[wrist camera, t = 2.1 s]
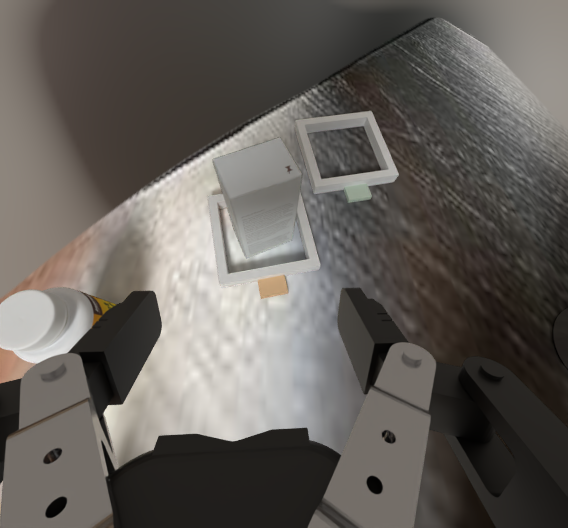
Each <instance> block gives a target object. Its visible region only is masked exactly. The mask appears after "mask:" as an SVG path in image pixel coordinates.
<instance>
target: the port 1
mask: <svg viewBox="0 0 568 528" xmlns="http://www.w3.org/2000/svg"><path fill="white" fill-rule="evenodd" d="M207 198H208V205H209V213H210V220H211V227H212V235H213V242H214V250H215V257H216V264H217V272H218V279H219V285H220V286H221V288H226V287H231V286H236V285H242V284H247V283H252V282H257V281H258V285H259V291H260V296H261V299H262V298H267V297H273V296H278V295H283V294H288V289H287V284H286V280H285V276H289V275H294V274H300V273H305V272H310V271H316V270H318V269H319V268H320V266H321V265H320V262H319V258H318V254H317V251H316V247H315V243H314V240H313V236H312V232H311V229H310V225H309V221H308V218H307V214H306V210H305V207H304V203H303V199H302V196H301V192H300V194H299V201H298V207H297V213H296V220H297V224H298V228H299V232H300V235H301V239H302V243H303V247H304V251H305V255H306V260H301V261H295V262H290V263H284V264H279V265H273V266H268V267H262V268H257V269H251V270H246V271H240V272H235V273H230V274H229V271H228V264H227V258H226V251H225V244H224V238H223V231H222V224H221V218H220V211H219V209H221V208H227V206H226V203H225V200H224V197H223V194H217V195H211V196H207Z"/></svg>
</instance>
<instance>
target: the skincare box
mask: <svg viewBox="0 0 568 528" xmlns="http://www.w3.org/2000/svg"><path fill="white" fill-rule="evenodd" d="M213 165H214V168H215V171H216V174H217V177H218V181H219V184H220V187H221V190H222V193H223V197H224V200H225V203H226V206H227V210H228V213H229V216H230V219H231V222H232V226H233V229H234V231H235V234H236V236H237V239H238V241H239V244H240V246H241V248H242V251H243V253H244V256H245V257H246V258H249V257H252V256H254V255H257V254H259V253H262V252H264V251H267V250H269V249H272V248H274V247H277V246H279V245H282V244H284V243H287V242H290V241H292V238H293V232H294V226H295V220H296V213H297V207H298V201H299V194H300V188H301V182H302V176H303V174H302V172H301V171H300V169H299V168H298V166H297V164H296V163H295V161H294V159H293V158H292V156H291V154H290V153H289V151H288V149H287V147H286V146H285V144H284V142H283V141H282V139H281V138H280V137H278V138H276V139H273V140H270V141H267V142H264V143H261V144H258V145H254V146H251V147H248V148H245V149H242V150H239V151H236V152H233V153H230V154H227V155H224V156H221V157H217V158H214V159H213Z"/></svg>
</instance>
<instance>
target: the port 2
mask: <svg viewBox="0 0 568 528" xmlns="http://www.w3.org/2000/svg"><path fill="white" fill-rule="evenodd" d="M360 126H364V129H365V131H366V134H367V136H368V139H369V141H370V143H371V146H372V148H373V151H374V153H375V156H376V158H377V161H378V163H379V166H380V168H381V171H374V172H367V173H360V174H354V175H347V176H340V177H333V178H326V179H321V176H320V173H319V170H318V167H317V163H316V160H315V157H314V154H313V151H312V147H311V144H310V141H309V138H308V134H307V133H312V132H320V131H328V130H336V129H344V128H352V127H360ZM295 132H296V135H297V139H298V142H299V146H300V149H301V153H302V156H303V159H304V163H305V166H306V170H307V173H308V177H309V180H310V183H311V187H312V190H313V194H319V193H325V192H332V191H338V190H344V193H345V196H346V199H347V202H348V203H350V202H356V201H362V200H369V199H371V197H372V196H371V193H370V191H369V188H368V186H371V185H378V184H384V183H391V182H394V181H395V179H396V178H397V176H398V175H399V174H398V172H397V169H396V167H395V165H394V162H393V160H392V158H391V155H390V153H389V151H388V148H387V146H386V144H385V141H384V139H383V137H382V134H381V132H380V130H379V127H378V125H377V123H376V120H375V118H374V116H373V113H372V111H368V112H359V113H351V114H342V115H334V116H325V117H317V118H308V119H300V120H296V121H295Z"/></svg>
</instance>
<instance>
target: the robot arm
mask: <svg viewBox="0 0 568 528" xmlns="http://www.w3.org/2000/svg"><path fill="white" fill-rule="evenodd" d="M161 328H162V322H161V317H160V312H159V308H158V303H157V298H156V295H155V293H154V291H133V292H132V293H131V294H130V295H129V296H128V297H127V298H126V299H125V300H124V302H123V303H119V304H117V305H115V306H114V307H112V308H110V309H109V310H107V311H106V312H105V313H104V314H103V315H102V316H101V317H100V319H99V321H97V322H96V323H95V324H94V325H93V326H92V329H89V330H88V331H87V332H86V334H85V335H84V336H83V337H82V338H81V339H80V340H79V341H78V342H77V343H76V344H75V345H74V346H73V347H72V348H71V350H70V351H69V352H68V353H65V354H59V355H56V356H53V357H50V358H47V359H45V360H43V361H41V362H40V363H38V364H36V365H35V366H33V367H32V368H31V369H30V370H28V371H27V372H26V373H25V375H24V376H23V378H21V379H17V380H13V381H9V382H5V383H1V384H0V484H1V482H2V481H3V489H2V502H1V514H0V515H1V516H0V528H413V527H414V520H415V514H416V508H417V501H418V495H419V489H420V483H421V476H422V470H423V464H424V457H425V451H426V445H427V438H428V432H429V430H433V431H437V432H441V433H444V435H445V437H446V439H447V440H448V442H449V444H450V446H451V448H452V449H453V451H454V453H455V455H456V457H457V458H458V460H459V462H460V464H461V466H462V467H463V469H464V471H465V473H466V475H467V476H468V478H469V480H470V482H471V484H472V486H473V487H474V489H475V491H476V493H477V495H478V496H479V498H480V500H481V502H482V504H483V505H484V507H485V509H486V511H487V513H488V514H489V516H490V518H491V520H492V522H493V523H494V525H495V527H496V528H568V428H567V427H566V426H565V425H564V424H563V423H562V422H561V421H560V420H559V419H558V418H557V417H556V416H555V415H554V414H553V413H552V412H551V411H550V410H549V409H548V408H547V407H546V406H545V405H544V404H543V403H542V402H541V401H540V400H539V399H538V398H537V397H536V396H535V395H534V394H533V393H532V392H531V391H530V390H529V389H528V388H527V387H526V386H525V385H524V384H523V383H522V382H521V381H520V380H519V379H518V378H517V377H516V376H515V375H514V374H513V373H512V372H511V371H510V370H509V369H507V368H506V367H505V366H503V365H501V364H499V363H498V362H495V361H493V360H490V359H488V358H484V357H477V356H474V357H469V358H467V359H466V360H465V361H464V363H463V366H462V367H458V366H453V365H448V364H443V363H439V362H435V360H434V358H433V356H432V355H431V354H430V353H429V352H427V351H426V350H425V349H423V348H421V347H419V346H417V345H414V344H411V343H409V342H408V341H407V340H406V338H405V337H404V335H403V334H402V333H401V331H400V330H399V328H398V327H397V326H396V324H395V323H394V321H392V319H391V317H390V316H389V315H388V314H387V312H386V310H385V309H384V308H383V306H382V305H381V304H379V303H378V302H376V301H375V300H374V299H367V297H366V296H365V294H364V293H363V291H362V290H361V288H342V290H341V295H340V303H339V311H338V329H339V332H340V335H341V337H342V340H343V343H344V345H345V348H346V350H347V353H348V355H349V358H350V360H351V363H352V365H353V368H354V371H355V373H356V376H357V378H358V381H359V383H360V386H361V388H362V391H363V393H364V394H367V397H366V399H365V401H364V404H363V406H362V408H361V411H360V413H359V415H358V418H357V420H356V422H355V425H354V427H353V429H352V432H351V434H350V436H349V439H348V441H347V443H346V446H345V448H344V450H343V453H342V455H340V454H339V453H337V452H336V451H334V450H333V449H331V448H329V447H327V446H325V445H323V444H320V443H317V442H314V441H310V440H309V436H308V429H307V428H295V429H276V430H269V431H266V432H263V433H260V434H257V435H254V436H251V437H248V438H245V439H241V440H238V441H233V442H232V441H226V440H222V439H217V438H213V437H209V436H204V435H200V434H183V435H164V436H159V437H158V440H157V442H156V445H155V448H154V450H152V451H149V452H146V453H144V454H142V455H140V456H138V457H136V458H134V459H132V460H130V461H129V462H127V463H126V464H124V465H123V466H121V467H119V466H118V463H117V459H116V456H115V452H114V448H113V445H112V441H111V437H110V433H109V430H108V426H107V422H106V418H105V416H104V411H105V409H106V408H107V406H108V405H121V404H123V403H124V401H125V399H126V397H127V395H128V393H129V392H130V390H131V388H132V386H133V384H134V382H135V380H136V379H137V377H138V375H139V373H140V371H141V369H142V368H143V366H144V364H145V362H146V360H147V358H148V356H149V355H150V353H151V351H152V349H153V347H154V345H155V344H156V342H157V340H158V338H159V336H160V333H161ZM553 336H554V342H555V347H556V349H557V352H558V354H559V356H560V358H561V360H562V361H563V363H564V365H565V366H566V367H567V369H568V308H567V309H565V310H563V311H562V312H561V313H560V314H559V315H558V317H557V319H556V321H555V324H554V329H553ZM496 431H497V432H498V434H499V435H500V436H501V438H502V439H503V440H504V442H505V443H506V444H507V446H508V447H509V449H510V450H511V452H512V453H513V455H514V458H515V459H514V458H513V456H512V455H511V453H510V452H509V451H508V449H507V448H506V447H505V445H504V444H503V443H502V441H501V440H500V438H499V437H498V436H497V434H496V433H495V432H496Z"/></svg>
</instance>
